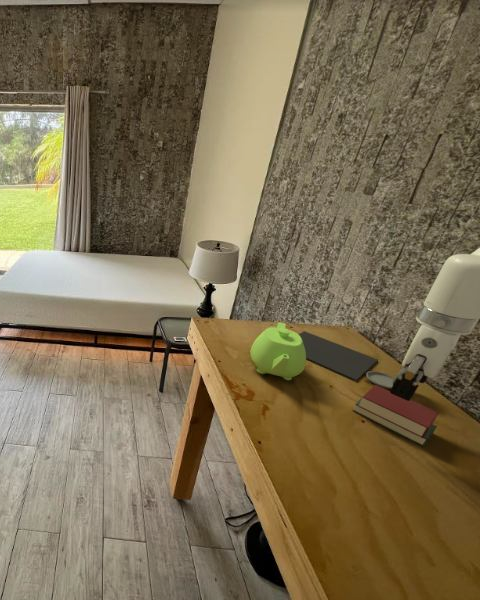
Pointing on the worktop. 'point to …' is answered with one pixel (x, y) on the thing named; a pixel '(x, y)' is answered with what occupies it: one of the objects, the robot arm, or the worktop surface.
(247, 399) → the worktop surface
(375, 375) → the pocket watch
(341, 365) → the felt mat
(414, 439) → the bottom book
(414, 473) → the worktop surface
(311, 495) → the worktop surface
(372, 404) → the top book
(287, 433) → the worktop surface
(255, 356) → the teapot
